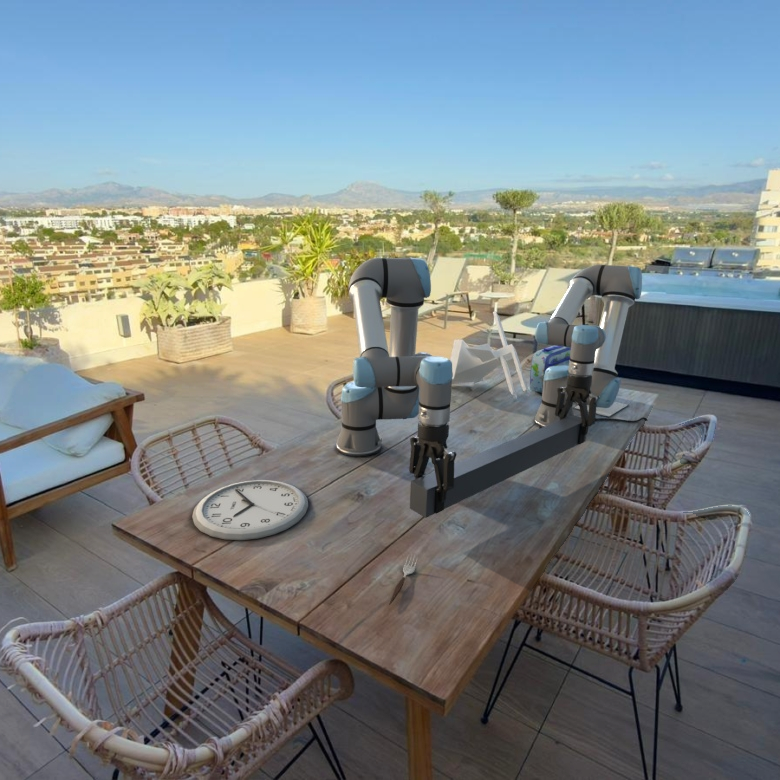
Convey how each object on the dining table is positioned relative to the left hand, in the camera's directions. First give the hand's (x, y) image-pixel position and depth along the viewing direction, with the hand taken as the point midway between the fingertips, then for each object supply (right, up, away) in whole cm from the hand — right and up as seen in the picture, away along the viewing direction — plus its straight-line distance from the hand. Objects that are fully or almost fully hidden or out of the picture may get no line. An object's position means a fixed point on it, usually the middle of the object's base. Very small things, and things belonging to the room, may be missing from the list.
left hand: (429, 505), depth 133 cm
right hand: (+51, +13, +42) cm, 68 cm away
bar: (+25, +6, +21) cm, 34 cm away
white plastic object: (+32, +28, +110) cm, 118 cm away
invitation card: (+81, +22, +93) cm, 126 cm away
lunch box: (+66, +29, +115) cm, 136 cm away
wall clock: (-47, -3, +7) cm, 48 cm away
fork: (-8, -12, -21) cm, 25 cm away
